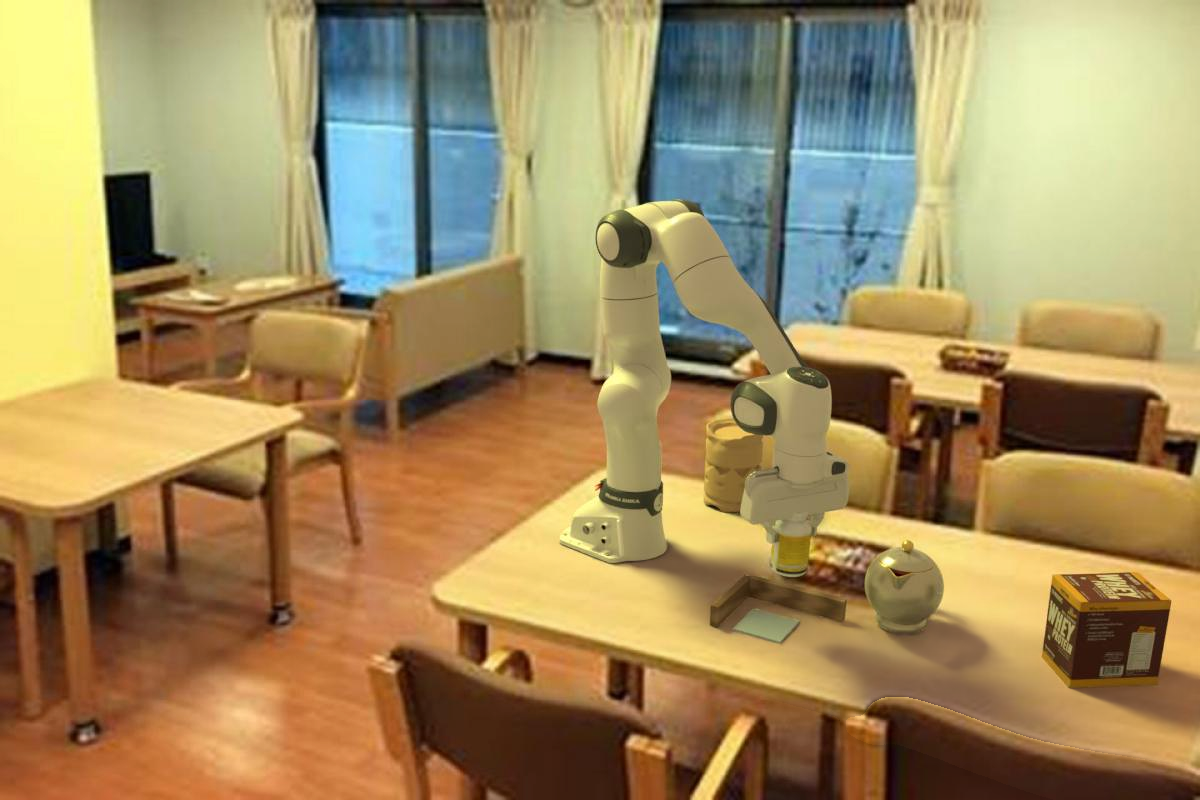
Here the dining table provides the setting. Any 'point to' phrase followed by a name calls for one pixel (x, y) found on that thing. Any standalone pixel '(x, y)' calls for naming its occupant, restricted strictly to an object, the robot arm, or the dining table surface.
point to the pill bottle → (791, 546)
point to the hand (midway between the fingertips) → (791, 538)
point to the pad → (766, 625)
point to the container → (729, 463)
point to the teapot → (903, 589)
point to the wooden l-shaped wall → (776, 599)
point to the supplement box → (1105, 629)
